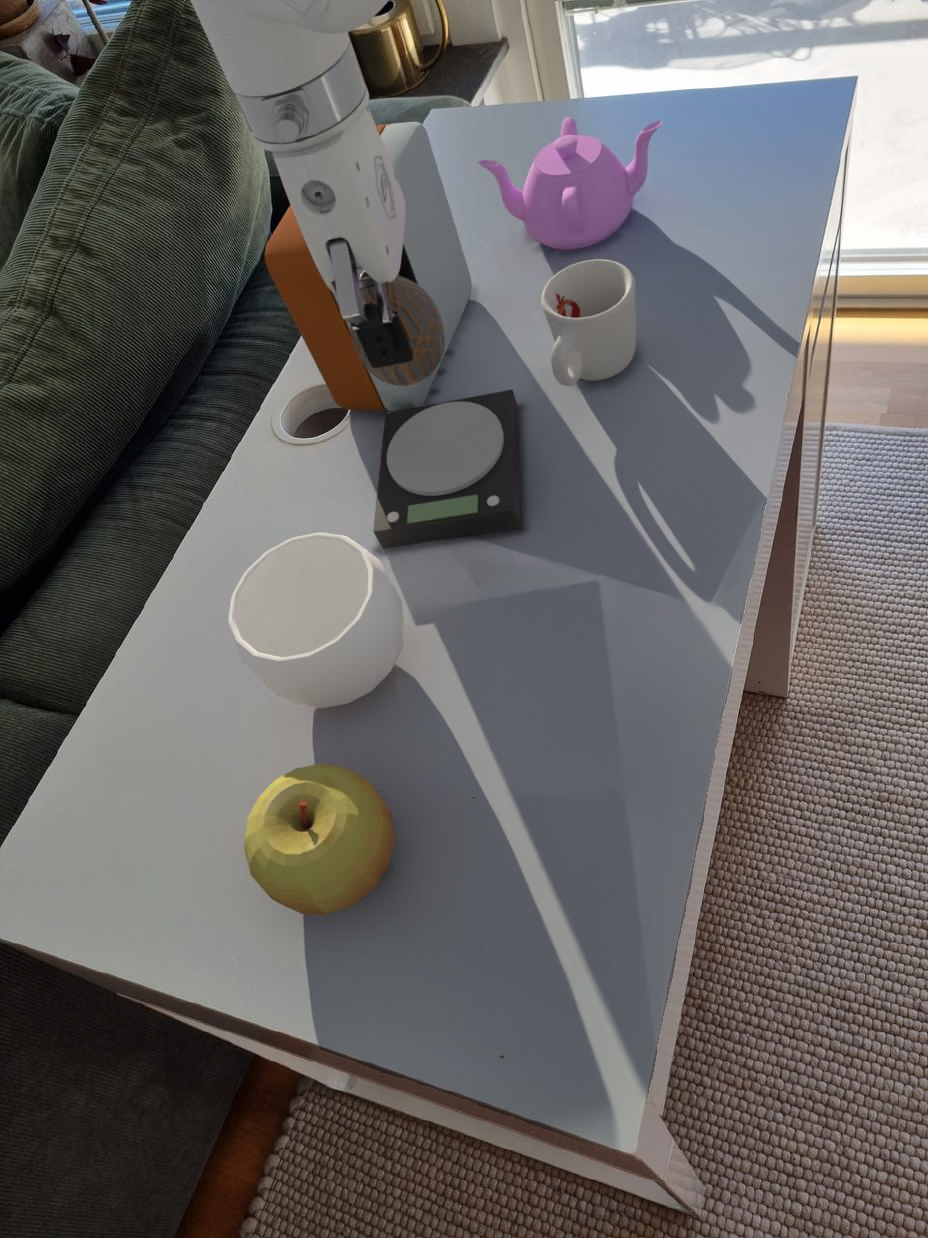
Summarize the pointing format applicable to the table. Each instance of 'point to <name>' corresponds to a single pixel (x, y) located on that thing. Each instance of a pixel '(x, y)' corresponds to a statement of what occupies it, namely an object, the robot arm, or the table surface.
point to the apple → (319, 839)
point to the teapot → (575, 189)
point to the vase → (408, 332)
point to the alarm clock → (318, 306)
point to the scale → (449, 471)
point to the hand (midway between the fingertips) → (396, 325)
